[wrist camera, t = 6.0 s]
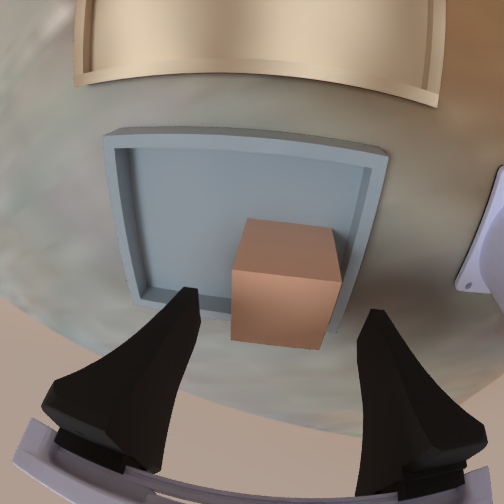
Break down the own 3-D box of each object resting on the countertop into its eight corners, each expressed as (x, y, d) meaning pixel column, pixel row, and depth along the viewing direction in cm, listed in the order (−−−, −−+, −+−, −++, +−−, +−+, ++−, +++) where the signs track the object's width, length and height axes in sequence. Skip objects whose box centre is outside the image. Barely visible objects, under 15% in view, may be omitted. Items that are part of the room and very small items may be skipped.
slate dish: (378, 147, 12) (389, 156, 10) (334, 312, 17) (336, 332, 16) (120, 128, 12) (102, 136, 11) (143, 287, 18) (133, 304, 17)
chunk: (331, 228, 14) (342, 282, 10) (316, 291, 16) (319, 349, 13) (247, 218, 14) (231, 269, 11) (243, 283, 16) (230, 339, 13)
